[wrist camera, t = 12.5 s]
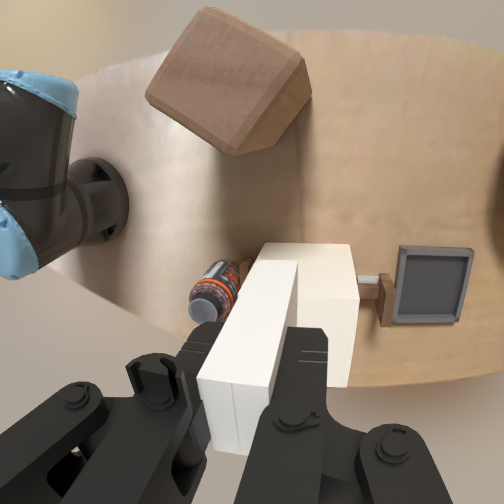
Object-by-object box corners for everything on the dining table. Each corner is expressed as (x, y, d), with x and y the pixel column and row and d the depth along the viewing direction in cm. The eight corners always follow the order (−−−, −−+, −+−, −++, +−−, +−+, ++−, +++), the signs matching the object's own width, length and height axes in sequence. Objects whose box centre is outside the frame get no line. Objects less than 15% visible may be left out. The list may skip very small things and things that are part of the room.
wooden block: (272, 150, 42) (231, 162, 23) (213, 110, 41) (135, 98, 23) (315, 91, 38) (309, 55, 19) (253, 52, 37) (201, -1, 19)
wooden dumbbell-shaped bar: (246, 300, 50) (234, 326, 43) (244, 258, 48) (230, 280, 41) (382, 305, 45) (389, 333, 39) (387, 262, 43) (397, 286, 36)
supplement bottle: (254, 281, 49) (235, 321, 39) (225, 299, 51) (201, 339, 41) (230, 250, 48) (204, 284, 38) (201, 270, 50) (171, 305, 40)
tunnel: (267, 312, 51) (244, 380, 36) (265, 242, 46) (237, 293, 32) (377, 317, 47) (391, 387, 32) (386, 245, 43) (413, 299, 28)
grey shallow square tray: (389, 317, 46) (390, 322, 45) (399, 245, 42) (402, 249, 41) (455, 317, 44) (458, 322, 43) (470, 248, 40) (474, 251, 38)
